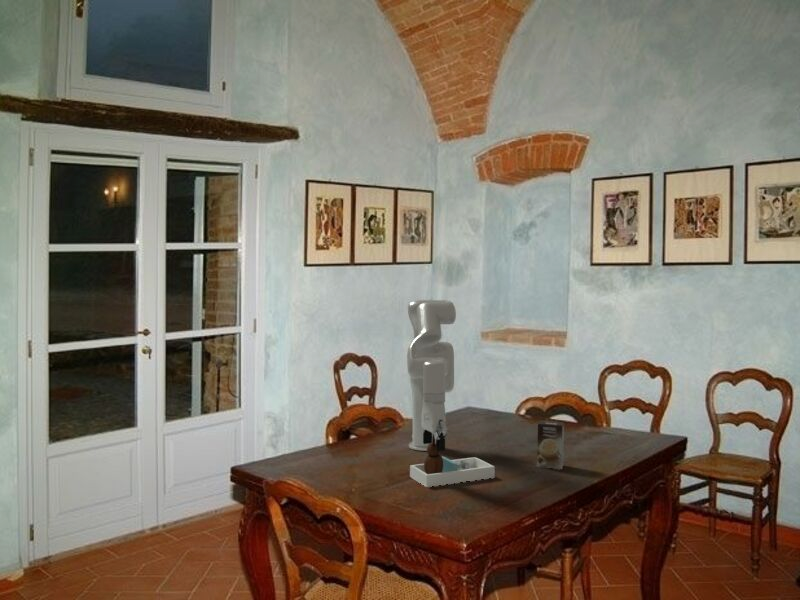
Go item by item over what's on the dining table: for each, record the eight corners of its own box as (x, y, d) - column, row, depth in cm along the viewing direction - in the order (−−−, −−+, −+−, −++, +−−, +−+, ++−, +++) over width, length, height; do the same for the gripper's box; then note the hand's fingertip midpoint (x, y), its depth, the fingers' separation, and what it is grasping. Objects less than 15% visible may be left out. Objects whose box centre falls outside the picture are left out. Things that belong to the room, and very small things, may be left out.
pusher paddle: (440, 470, 245) (440, 456, 245) (458, 467, 248) (459, 454, 248) (453, 478, 236) (453, 463, 236) (473, 475, 239) (473, 461, 239)
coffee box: (536, 467, 254) (536, 423, 253) (538, 462, 260) (539, 420, 259) (562, 470, 251) (562, 425, 250) (563, 465, 257) (564, 421, 256)
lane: (410, 476, 242) (410, 465, 242) (475, 468, 253) (475, 457, 253) (426, 487, 231) (426, 475, 230) (494, 478, 241) (494, 466, 241)
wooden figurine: (436, 480, 235) (436, 436, 234) (421, 477, 238) (421, 434, 237) (446, 475, 240) (446, 432, 240) (431, 473, 243) (431, 430, 243)
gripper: (413, 393, 244) (413, 441, 245) (435, 403, 228) (435, 454, 229) (432, 391, 247) (432, 439, 248) (456, 401, 231) (455, 452, 232)
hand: (433, 446), depth 239 cm, fingers open, 9 cm apart
